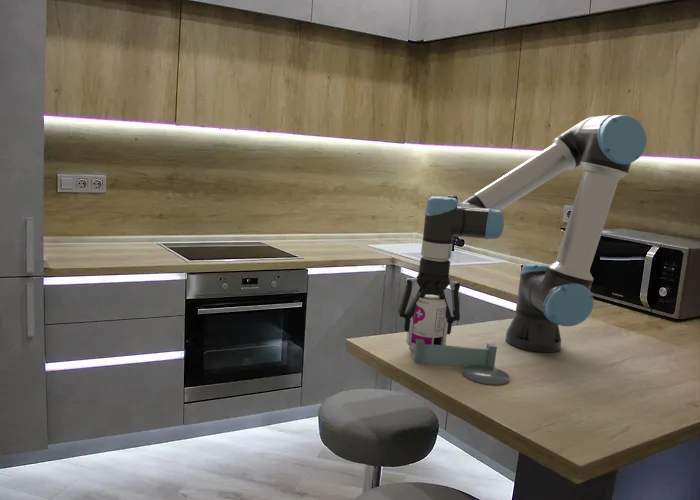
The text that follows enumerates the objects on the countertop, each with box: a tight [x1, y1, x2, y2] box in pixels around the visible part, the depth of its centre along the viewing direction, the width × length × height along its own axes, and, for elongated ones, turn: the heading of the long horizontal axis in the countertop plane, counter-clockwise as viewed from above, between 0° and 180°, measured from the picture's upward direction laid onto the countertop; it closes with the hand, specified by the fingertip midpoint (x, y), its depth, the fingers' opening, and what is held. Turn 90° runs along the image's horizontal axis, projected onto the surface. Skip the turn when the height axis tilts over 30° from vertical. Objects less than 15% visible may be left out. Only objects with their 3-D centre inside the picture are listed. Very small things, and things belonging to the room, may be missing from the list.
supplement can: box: [408, 294, 447, 355], centre depth 164 cm, size 8×8×15 cm
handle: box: [413, 339, 498, 368], centre depth 159 cm, size 20×2×6 cm, turn 95°
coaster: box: [461, 365, 510, 386], centre depth 153 cm, size 11×11×1 cm
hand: (425, 344), depth 165 cm, fingers closed on supplement can, 8 cm apart
